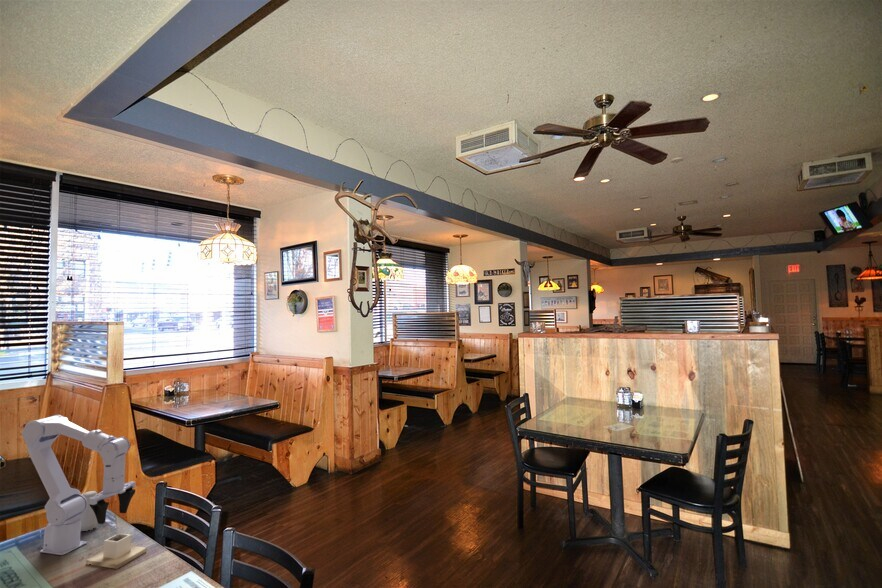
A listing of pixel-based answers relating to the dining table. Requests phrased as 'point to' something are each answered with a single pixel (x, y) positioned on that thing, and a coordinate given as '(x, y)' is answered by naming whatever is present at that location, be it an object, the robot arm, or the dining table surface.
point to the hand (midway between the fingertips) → (112, 517)
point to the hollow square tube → (117, 546)
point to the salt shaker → (88, 514)
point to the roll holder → (118, 562)
